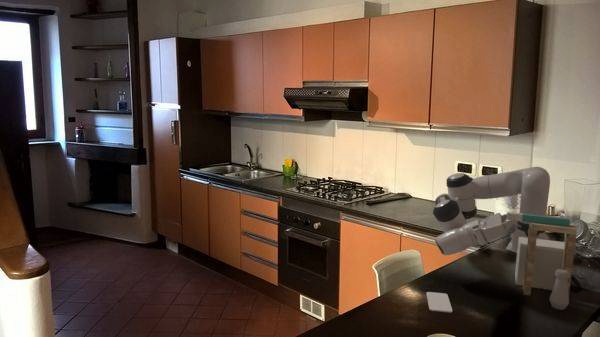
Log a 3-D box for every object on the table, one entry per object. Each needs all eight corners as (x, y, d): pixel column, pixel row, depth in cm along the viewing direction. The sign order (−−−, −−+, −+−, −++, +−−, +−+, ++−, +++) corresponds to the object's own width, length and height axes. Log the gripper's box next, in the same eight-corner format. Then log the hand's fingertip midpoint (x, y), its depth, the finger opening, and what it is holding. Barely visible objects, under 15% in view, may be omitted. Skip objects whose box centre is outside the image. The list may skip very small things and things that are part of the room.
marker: (506, 218, 178) (507, 211, 177) (568, 224, 171) (568, 218, 171) (506, 219, 176) (507, 213, 175) (569, 226, 169) (570, 219, 168)
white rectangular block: (514, 275, 193) (518, 236, 191) (559, 282, 188) (564, 242, 185) (516, 284, 184) (520, 243, 181) (564, 291, 178) (569, 249, 176)
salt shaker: (551, 302, 169) (555, 266, 167) (569, 307, 165) (574, 270, 163) (546, 307, 164) (551, 270, 162) (565, 312, 161) (570, 274, 159)
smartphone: (447, 293, 172) (453, 311, 158) (447, 295, 172) (452, 313, 158) (426, 291, 174) (429, 309, 159) (425, 293, 174) (429, 311, 159)
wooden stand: (522, 287, 181) (530, 219, 177) (564, 293, 176) (573, 224, 173) (524, 294, 175) (531, 223, 171) (568, 301, 170) (577, 228, 166)
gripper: (482, 232, 190) (517, 218, 185) (482, 247, 171) (522, 232, 166) (475, 217, 190) (510, 203, 185) (474, 230, 171) (513, 215, 166)
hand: (515, 217), depth 175 cm, fingers open, 8 cm apart
